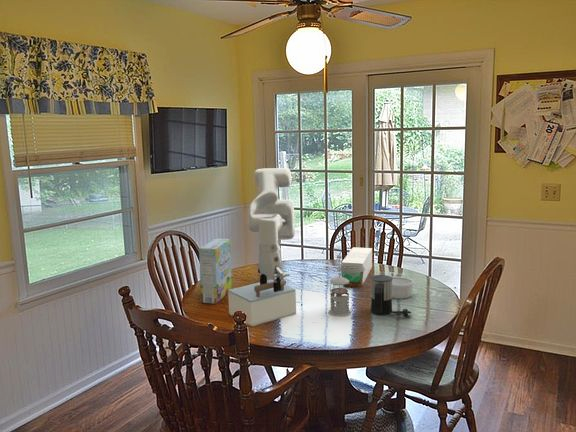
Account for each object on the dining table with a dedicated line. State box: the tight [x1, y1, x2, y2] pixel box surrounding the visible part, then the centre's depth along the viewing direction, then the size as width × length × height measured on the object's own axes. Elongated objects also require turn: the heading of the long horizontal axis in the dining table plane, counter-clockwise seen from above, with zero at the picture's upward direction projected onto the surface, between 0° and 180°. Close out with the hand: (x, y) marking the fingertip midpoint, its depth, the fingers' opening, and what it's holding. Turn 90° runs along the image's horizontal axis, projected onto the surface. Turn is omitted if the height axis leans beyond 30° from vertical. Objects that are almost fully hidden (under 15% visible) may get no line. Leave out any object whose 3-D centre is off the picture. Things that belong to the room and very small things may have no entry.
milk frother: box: [369, 274, 412, 317], centre depth 211 cm, size 14×16×15 cm
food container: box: [340, 264, 365, 289], centre depth 247 cm, size 12×6×10 cm, turn 68°
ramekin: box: [391, 276, 414, 300], centre depth 234 cm, size 13×13×7 cm
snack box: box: [198, 238, 233, 305], centre depth 238 cm, size 22×9×26 cm, turn 168°
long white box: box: [340, 246, 373, 285], centre depth 268 cm, size 32×11×11 cm, turn 163°
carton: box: [227, 291, 297, 328], centre depth 215 cm, size 22×18×10 cm
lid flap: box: [228, 278, 296, 302], centre depth 213 cm, size 22×18×5 cm
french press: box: [327, 254, 352, 318], centre depth 214 cm, size 10×12×25 cm
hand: (270, 288), depth 208 cm, fingers open, 9 cm apart
